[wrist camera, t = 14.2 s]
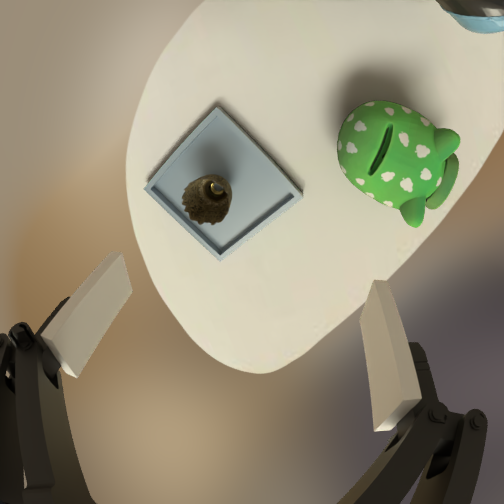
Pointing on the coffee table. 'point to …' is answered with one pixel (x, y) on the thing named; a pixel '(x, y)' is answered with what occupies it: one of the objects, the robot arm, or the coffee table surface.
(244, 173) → the tray
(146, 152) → the coffee table surface
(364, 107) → the piggy bank
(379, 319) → the robot arm
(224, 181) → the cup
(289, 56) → the coffee table surface
